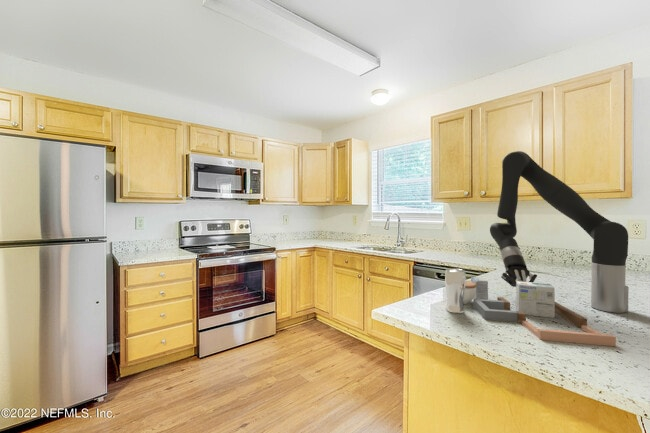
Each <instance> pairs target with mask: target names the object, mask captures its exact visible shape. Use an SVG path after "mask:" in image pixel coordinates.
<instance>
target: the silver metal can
mask: <svg viewBox="0 0 650 433" xmlns="http://www.w3.org/2000/svg"><path fill="white" fill-rule="evenodd" d="M466 281H467V280H466V271H465V269H462V268H461V269H460V268H446V269H445V274H444V288H445V293H446V298H447V299H446V300H447V301H446V302H447V303H446V306H445V310H446V311H447V312H449V313H452V314H463V313H465V308H464V304H463V297H464V293H465V287H466Z"/></svg>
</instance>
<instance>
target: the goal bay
mask: <svg viewBox="0 0 650 433" xmlns="http://www.w3.org/2000/svg"><path fill="white" fill-rule="evenodd" d="M521 325H522V326H524V327H525V328H526V329H527V330H528V331H530V332H531V333H532V334H533V335H534V336H535V337H536V338H538V339H539V340H543V341H544V340H545V341H553V342H565V343H575V344H586V345H587V344H588V345H598V346H609V347H610V346H611V347H616V346H617V345H616V344H617V340H616V339H617V337H616V336H615V335H612V334H605V333H601V332H599V331H597V330H596V329H594V328H592V327H591V326H589V325H587V326H585V325H582V328H581V330H582V331H583V332H580V331H569V330H568V331H567V330H559V329H557V330H556V329H545V328H537V327H536V326H535V325H533V324H532V323H530V322H529V321H528V320H526V321H522V323H521Z"/></svg>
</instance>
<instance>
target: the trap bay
mask: <svg viewBox="0 0 650 433" xmlns="http://www.w3.org/2000/svg"><path fill="white" fill-rule="evenodd" d="M472 302H473V304H472V307H473V308H474V309H475V311H477V312H478V313H479V315H480V316H481V317H482V318H483V319H484V320H488V321H502V322H503V321H504V322H514V323H516V322H517V323H518V313H517V312H516V311H517V310H511V309H510V310H504V302H503V301H500V300H497V299H488V300H485V299H474V298H473V300H472Z"/></svg>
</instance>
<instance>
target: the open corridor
mask: <svg viewBox="0 0 650 433" xmlns="http://www.w3.org/2000/svg"><path fill="white" fill-rule="evenodd" d="M496 298H497V299H496V300H500V301H503V302H504V310H510V311H511V302H510V301H509V300H507V299H506V298H504V297H503V296H497V297H496ZM515 311H516V312H517V313H518V322H517V323H519V324H522V321H527V315H526V314H525V313H523V312H522V311H517V310H515ZM555 314H556V315H558V316H559V317H561V318H562V319H563V320H566V321H568V323H570V324H572V325H574V326H576V327H577V328H579V329H582V325H585V326H588V318H586V317H584V316H582V315H581V314H579V313H577V312H576V311H573V310H572V309H569V308H568V307H565V306H564V305H562V304H560V303H558V302H556V301H555Z"/></svg>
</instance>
